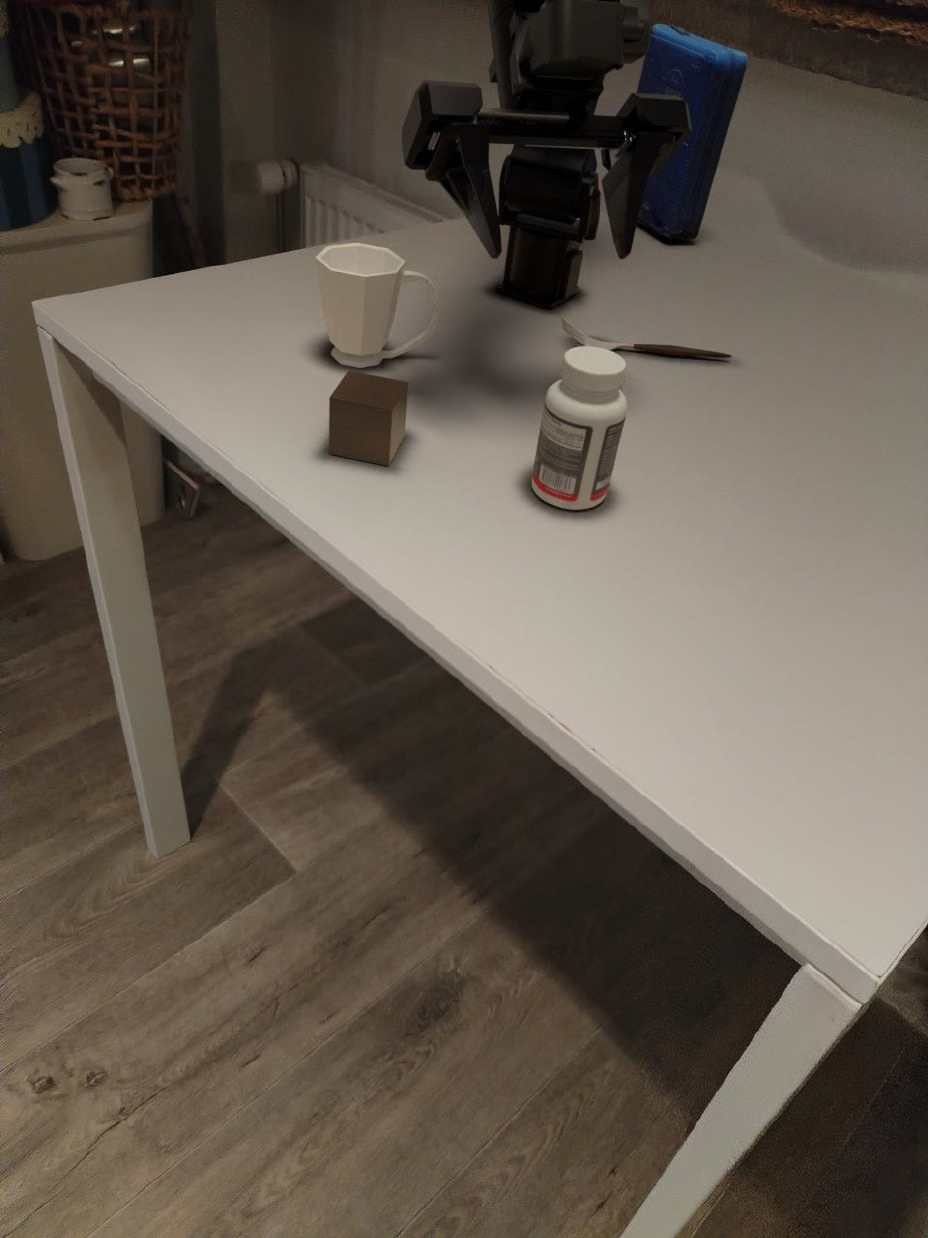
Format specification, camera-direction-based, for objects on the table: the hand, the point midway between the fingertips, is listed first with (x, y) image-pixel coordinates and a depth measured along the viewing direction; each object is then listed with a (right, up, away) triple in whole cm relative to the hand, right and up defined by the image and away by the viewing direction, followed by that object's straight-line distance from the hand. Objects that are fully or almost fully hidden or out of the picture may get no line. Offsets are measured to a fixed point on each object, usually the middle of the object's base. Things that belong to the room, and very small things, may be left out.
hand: (562, 256), depth 60 cm
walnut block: (-13, -12, +5) cm, 18 cm away
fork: (+10, 0, +22) cm, 24 cm away
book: (+16, +24, +51) cm, 58 cm away
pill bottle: (+1, -15, +3) cm, 16 cm away
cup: (-14, -2, +16) cm, 21 cm away
